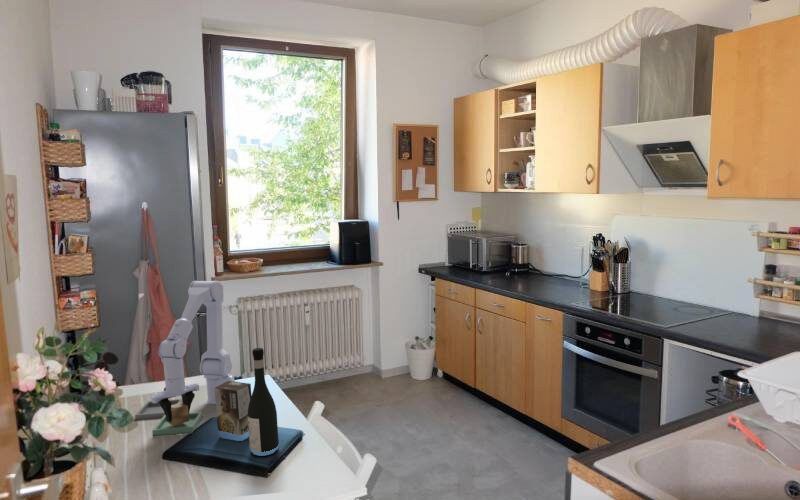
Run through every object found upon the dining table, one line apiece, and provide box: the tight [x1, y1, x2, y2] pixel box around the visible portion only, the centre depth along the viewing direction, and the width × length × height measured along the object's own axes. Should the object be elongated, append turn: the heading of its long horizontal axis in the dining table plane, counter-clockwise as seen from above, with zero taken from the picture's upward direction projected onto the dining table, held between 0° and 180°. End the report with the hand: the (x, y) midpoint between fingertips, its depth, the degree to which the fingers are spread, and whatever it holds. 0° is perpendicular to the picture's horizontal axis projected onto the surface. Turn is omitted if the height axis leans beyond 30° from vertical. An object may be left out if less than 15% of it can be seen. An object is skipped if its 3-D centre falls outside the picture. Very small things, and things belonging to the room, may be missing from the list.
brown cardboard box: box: [167, 402, 190, 426], centre depth 176 cm, size 5×5×5 cm
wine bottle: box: [248, 347, 280, 452], centre depth 155 cm, size 8×8×30 cm
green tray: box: [151, 411, 203, 438], centre depth 176 cm, size 12×12×2 cm
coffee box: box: [214, 381, 252, 435], centre depth 167 cm, size 9×6×16 cm
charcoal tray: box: [134, 398, 183, 420], centre depth 189 cm, size 12×12×2 cm
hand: (178, 418), depth 176 cm, fingers closed on brown cardboard box, 5 cm apart
